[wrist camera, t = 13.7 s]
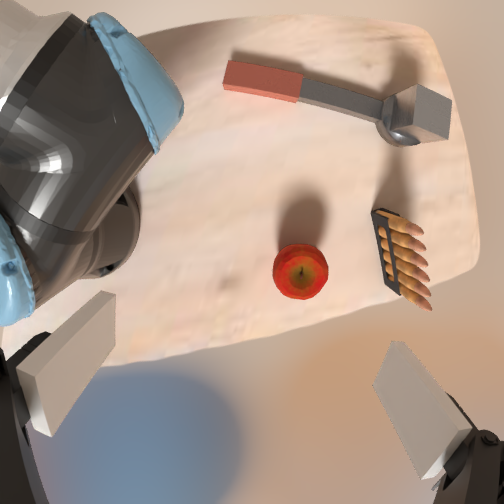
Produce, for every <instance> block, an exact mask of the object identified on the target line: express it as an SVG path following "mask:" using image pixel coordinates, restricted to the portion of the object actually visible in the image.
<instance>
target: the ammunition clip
mask: <svg viewBox="0 0 504 504" xmlns="http://www.w3.org/2000/svg"><path fill="white" fill-rule="evenodd" d="M371 216H372V221H373V225H374V230H375V235H376V239H377V244H378V249H379V255H380V260H381V266H382V271H383V277H384V283H385V285H387V286H388V287H389V288H390V289H392V290H393V291H394V292H395V293H397V294H398V295H399V296H400V295H401V294H402V295H403V296H404V297H405V298H407V299H408V300H409V301H410V302H412V303H415V304H416V305H418V306H419V307H420V308H422V309H424V310H426V311H432V307H431V305H430V304H429V302H428V301H427V300H426V299H425V298H424V297H423V296H425V297H430V296H431V293H430V291H429V290H428V288H427V287H426V286H425V285H424V284H422V283H421V282H420V281H422V282H429V281H430V279H429V277H428V275H427V274H426V273H425V272H424V271H423V270H421V269H420V268H419V267H417V266H420V267H427V266H428V263H427V261H426V260H425V259H424V258H423V257H422V256H421V255H419V254H417V253H416V252H415V251H419V252H423V251H426V247H425V246H424V244H423V243H421V242H420V241H419V240H417V239H415V238H414V237H412V236H411V235H416V236H419V235H423V234H424V232H423V230H422V229H421V228H420V227H419V226H418V225H416V224H413V223H412V222H409V221H408V220H407V219H405V218H402V217H400V215H399V214H396V213H394V212H391V211H389V210H386V209H384V208H381V209H377V210H374V211H371ZM410 234H411V235H410ZM414 250H415V251H414ZM416 265H417V266H416ZM400 293H401V294H400Z"/></svg>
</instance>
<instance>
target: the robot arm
mask: <svg viewBox="0 0 504 504" xmlns="http://www.w3.org/2000/svg"><path fill="white" fill-rule="evenodd" d="M183 113H184V101H183V98H182V95H181V93H180V91H179V89H178V88H177V86H176V85H175V83H174V82H173V80H172V79H171V77H170V76H169V75H168V73H167V72H166V71H165V70H164V68H163V67H162V66H161V65H160V63H159V62H158V61H157V60H156V59H155V57H154V56H153V55H152V54H151V53H150V52H149V51H148V50H147V48H146V47H145V46H144V45H143V44H142V43H141V42H140V41H139V40H138V39H137V38H136V37H135V36H134V35H133V34H132V33H129V32H128V31H127V30H126V29H125V28H124V27H123V26H122V25H121V24H120V23H119V22H118V21H117V20H116V19H115V18H114V17H112V16H111V15H109V14H107V13H104V12H101V13H97V14H95V15H94V16H90V17H89V18H88V20H87V24H86V23H85V22H83V21H82V20H80V19H79V18H78V17H76V16H75V15H73V14H72V13H71V12H69V11H67V12H63V13H58V14H53V15H49V16H37V15H35V14H34V13H32V12H31V11H29V10H28V9H26V8H25V7H23V6H22V5H20V4H19V3H17V2H15V1H14V0H0V326H2V327H4V326H10V325H12V324H14V323H16V322H17V321H19V320H21V319H23V318H26V317H29V316H30V315H31V314H32V313H33V312H34V310H36V309H37V308H38V307H40V306H41V305H42V304H44V303H45V302H47V301H48V300H49V299H51V298H52V297H53V296H55V295H56V294H58V293H59V292H61V291H62V290H63V289H65V288H66V287H68V286H69V285H70V284H72V283H73V282H75V281H76V280H78V279H95V278H101V277H104V276H106V275H109V274H110V273H112V272H114V271H115V270H116V269H118V268H119V267H120V266H122V265H123V264H124V263H125V262H126V261H127V260H128V258H129V257H130V256H131V254H132V252H133V250H134V248H135V246H136V243H137V240H138V236H139V228H140V218H139V211H138V206H137V203H136V200H135V198H134V195H133V193H132V192H131V190H130V188H129V187H128V185H129V184H130V183H131V182H132V180H133V179H134V178H135V176H136V175H137V174H138V173H139V171H140V170H141V169H142V168H143V167H144V165H145V164H146V163H147V162H148V160H149V159H150V158H151V157H152V156H153V154H155V155H156V154H157V153H158V152H159V150H160V145H161V144H162V143H163V141H164V140H165V139H166V138H167V136H168V135H169V134H170V133H171V131H172V130H173V129H174V128H175V127H176V125H177V124H178V123H179V122H180V120H181V118H182V116H183ZM115 306H116V294H113V293H109V292H105V291H100V292H99V293H98V294H97V295H95V296H94V297H93V298H92V299H91V300H89V301H88V302H87V303H86V304H85V305H84V306H83V307H81V308H80V309H79V310H78V311H77V312H76V313H75V314H73V315H72V316H71V317H70V318H69V319H68V320H67V321H65V322H64V323H63V324H62V325H61V326H60V327H59V328H58V329H57V330H55V331H54V332H53V333H52V334H51V333H48V332H46V331H45V332H43V333H40V334H38V335H35V336H34V337H33V338H32V339H30V340H29V341H28V342H27V344H25V345H24V346H23V347H21V349H19V350H18V351H17V352H16V353H15V354H14V355H12V356H11V357H10V358H9V359H8V360H7V361H5V356H4V353H3V350H2V349H1V348H0V504H49V502H48V500H47V497H46V494H45V491H44V488H43V485H42V482H41V479H40V476H39V473H38V470H37V466H36V463H35V460H34V456H33V452H32V448H31V444H30V440H29V436H28V431H27V428H26V426H25V424H26V423H27V422H28V420H29V419H30V418H31V421H32V424H33V427H34V429H35V430H37V431H40V432H41V433H43V434H46V435H48V436H50V437H53V435H54V434H55V432H56V430H57V429H58V427H59V426H60V424H61V423H62V421H63V420H64V418H65V417H66V415H67V414H68V412H69V411H70V409H71V408H72V406H73V405H74V403H75V402H76V400H77V399H78V397H79V396H80V394H81V393H82V392H83V390H84V389H85V387H86V386H87V384H88V383H89V382H90V380H91V379H92V377H93V376H94V374H95V373H96V371H97V370H98V369H99V367H100V366H101V364H102V363H103V362H104V360H105V359H106V357H107V356H108V355H109V353H110V352H111V351H112V349H113V348H114V346H115ZM372 386H373V388H374V389H375V391H376V393H377V395H378V397H379V399H380V401H381V403H382V404H383V407H384V408H385V410H386V412H387V414H388V416H389V418H390V420H391V422H392V424H393V426H394V428H395V429H396V431H397V434H398V435H399V437H400V439H401V441H402V443H403V445H404V447H405V449H406V451H407V453H408V455H409V457H410V460H411V461H412V463H413V466H414V468H415V470H416V471H417V474H418V476H419V478H420V480H422V479H426V478H431V477H435V476H436V475H437V473H438V472H439V471H440V470H441V469H442V468H443V467H444V469H445V471H446V473H445V474H444V475H443V476H442V477H441V479H440V480H439V481H438V482H437V483H436V484H435V485H434V487H433V488H432V490H434V489H435V488H436V487H438V486H439V488H438V490H437V494H436V497H435V500H434V503H433V504H504V441H500V440H499V438H498V437H497V436H496V435H495V434H494V433H492V432H490V431H488V430H480V431H479V430H478V429H477V428H476V426H475V425H474V424H473V422H472V421H471V420H470V418H469V417H468V416H467V415H466V413H465V412H463V409H462V408H461V407H459V404H458V403H457V402H456V401H455V399H454V398H453V397H452V396H450V395H449V394H448V393H446V392H445V391H444V390H443V389H442V388H441V386H440V385H439V384H438V383H437V381H436V380H435V379H434V377H433V376H432V375H431V374H430V373H429V372H428V370H427V369H426V368H425V366H424V365H423V364H422V363H421V362H420V360H419V359H418V358H417V357H416V355H415V354H414V353H413V352H412V351H411V350H410V348H409V347H408V346H407V345H406V344H405V342H399V341H392V342H391V344H390V347H389V349H388V351H387V354H386V356H385V359H384V361H383V363H382V365H381V368H380V370H379V372H378V375H377V377H376V379H375V381H374V383H373V385H372Z"/></svg>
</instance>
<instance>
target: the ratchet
mask: <svg viewBox="0 0 504 504" xmlns="http://www.w3.org/2000/svg"><path fill="white" fill-rule="evenodd" d="M223 87H224V90H230V91H237V92H243V93H249V94H254V95H260V96H265V97H270V98H275V99H280V100H284V101H289V102H293V103H296V102H297V101H299V102H303V103H307V104H311V105H315V106H319V107H323V108H327V109H330V110H334V111H337V112H341V113H344V114H348V115H351V116H354V117H358V118H361V119H364V120H367V121H370V122H373V123H375V124H376V128H377V130H378V132H379V134H380V135H381V137H382V138H383V139H384V140H385V141H386V142H388V143H389V144H391V145H393V146H397V147H405V146H412V145H417V144H419V143H421V142H418V141H416V140H413V139H410V138H408V137H405V136H402V135H400V134H397V133H394V132H391V131H390V125H391V118H392V111H393V104H394V96H395V94H394V95H392V96H390V97H388V98H386V99H384V100H383V101H380V100H377V99H374V98H371V97H368V96H365V95H362V94H359V93H356V92H353V91H349V90H346V89H343V88H339V87H336V86H333V85H329V84H325V83H322V82H318V81H314V80H310V79H306V78H303V74H299V73H295V72H290V71H286V70H281V69H276V68H271V67H266V66H260V65H255V64H249V63H243V62H236V61H229V60H228V64H227V68H226V72H225V76H224V80H223ZM396 94H397V93H396Z"/></svg>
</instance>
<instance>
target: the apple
mask: <svg viewBox="0 0 504 504" xmlns="http://www.w3.org/2000/svg"><path fill="white" fill-rule="evenodd" d="M273 279H274V282H275V284H276V287H277V288H278V289H279V290H280V292H281V293H282V294H283V295H285V296H287V297H289V298H293V299H302V300H305V299H309V298H312V297H314V296H315V295H316V294H317V293H319V292H320V290H321V289H322V287H323V286H324V284H325V283H326V282H327V280H328V265H327V262H326V260H325V257H324V255H323V254H322V252H321V251H320V250H318V249H317V248H316V247H313V246H310V245H308V244H293V245H288V246H286V247H285V248H283V249H282V250H281V251H280V252H279V253H278V255H277V256H276V258H275V260H274V265H273Z"/></svg>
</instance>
